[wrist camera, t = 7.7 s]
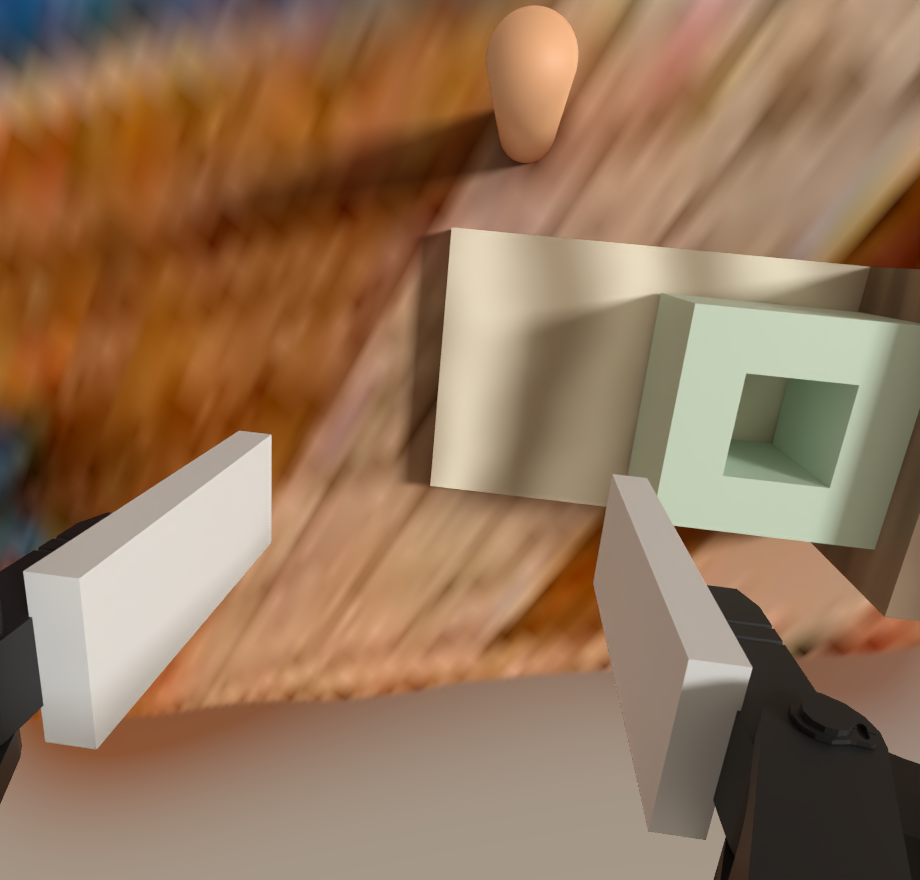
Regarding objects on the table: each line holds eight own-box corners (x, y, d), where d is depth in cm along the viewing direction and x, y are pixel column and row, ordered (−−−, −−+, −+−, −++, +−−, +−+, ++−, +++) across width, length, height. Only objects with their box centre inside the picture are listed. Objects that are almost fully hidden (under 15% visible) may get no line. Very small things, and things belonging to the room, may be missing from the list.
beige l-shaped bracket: (434, 476, 35) (403, 556, 26) (454, 228, 31) (427, 220, 22) (844, 524, 33) (964, 626, 24) (919, 272, 29) (1096, 282, 20)
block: (628, 473, 32) (651, 522, 26) (660, 292, 29) (695, 303, 23) (809, 494, 31) (874, 549, 26) (860, 312, 29) (945, 328, 23)
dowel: (496, 160, 30) (481, 105, 18) (502, 99, 29) (491, 2, 18) (551, 165, 30) (571, 112, 18) (558, 104, 29) (584, 9, 17)
